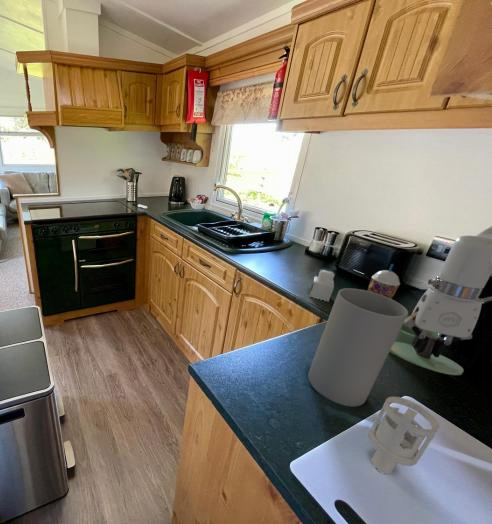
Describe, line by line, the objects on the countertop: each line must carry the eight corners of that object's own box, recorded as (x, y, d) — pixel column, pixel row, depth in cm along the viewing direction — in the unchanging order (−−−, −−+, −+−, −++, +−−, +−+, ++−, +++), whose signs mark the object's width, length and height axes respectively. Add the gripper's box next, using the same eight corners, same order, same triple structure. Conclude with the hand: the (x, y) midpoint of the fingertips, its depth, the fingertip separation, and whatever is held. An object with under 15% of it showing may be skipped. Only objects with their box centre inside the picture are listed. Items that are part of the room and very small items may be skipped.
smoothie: (356, 310, 112) (376, 263, 104) (361, 303, 117) (380, 258, 110) (383, 320, 106) (406, 270, 99) (386, 312, 112) (408, 265, 104)
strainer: (352, 460, 55) (382, 402, 50) (366, 441, 59) (395, 386, 54) (397, 494, 50) (436, 434, 45) (409, 472, 54) (447, 414, 48)
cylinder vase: (296, 372, 77) (325, 289, 68) (334, 367, 80) (366, 287, 71) (335, 412, 66) (376, 319, 56) (377, 404, 69) (423, 314, 59)
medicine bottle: (309, 290, 125) (317, 265, 121) (328, 295, 122) (337, 269, 118) (308, 297, 119) (317, 270, 115) (328, 302, 116) (338, 275, 112)
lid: (440, 355, 79) (449, 333, 78) (477, 385, 66) (489, 359, 64) (377, 340, 84) (384, 319, 83) (400, 364, 71) (409, 339, 69)
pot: (414, 338, 96) (426, 317, 93) (442, 375, 80) (456, 351, 77) (366, 326, 101) (375, 305, 98) (382, 359, 85) (394, 335, 82)
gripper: (419, 287, 68) (390, 350, 74) (515, 304, 62) (475, 371, 68) (407, 275, 74) (382, 335, 81) (493, 290, 68) (458, 353, 75)
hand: (424, 351), depth 75 cm, fingers closed on lid, 2 cm apart
